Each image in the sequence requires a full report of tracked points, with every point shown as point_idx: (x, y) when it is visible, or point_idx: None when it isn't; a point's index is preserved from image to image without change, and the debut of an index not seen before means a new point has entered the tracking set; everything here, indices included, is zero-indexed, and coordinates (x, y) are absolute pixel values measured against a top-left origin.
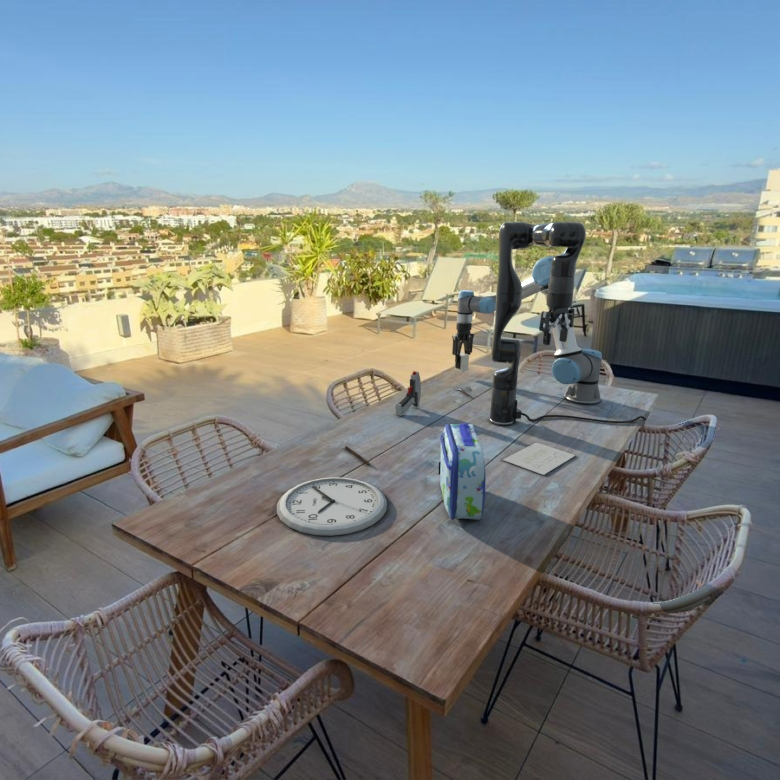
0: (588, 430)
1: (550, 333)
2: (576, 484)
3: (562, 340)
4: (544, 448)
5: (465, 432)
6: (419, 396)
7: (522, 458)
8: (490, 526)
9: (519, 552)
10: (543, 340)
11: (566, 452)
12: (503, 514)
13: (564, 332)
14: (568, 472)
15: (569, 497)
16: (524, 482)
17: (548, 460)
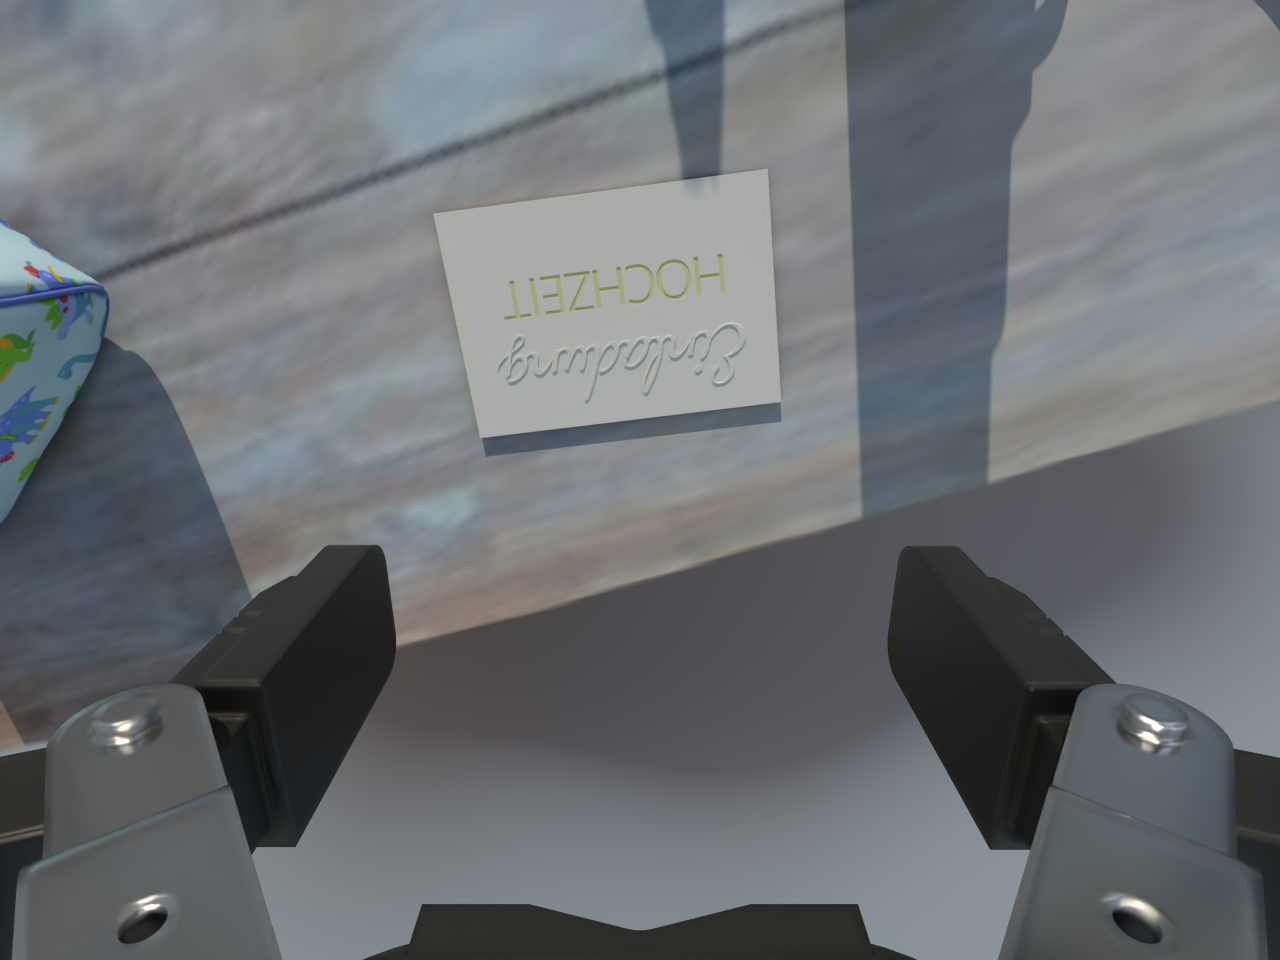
0: (1179, 236)
1: (270, 836)
2: (535, 554)
3: (898, 616)
4: (730, 256)
5: None
6: None
7: (531, 268)
8: (28, 557)
9: (33, 686)
10: (250, 617)
11: (775, 356)
12: (118, 534)
13: (975, 757)
14: (601, 478)
15: (425, 594)
16: (363, 426)
17: (621, 360)
